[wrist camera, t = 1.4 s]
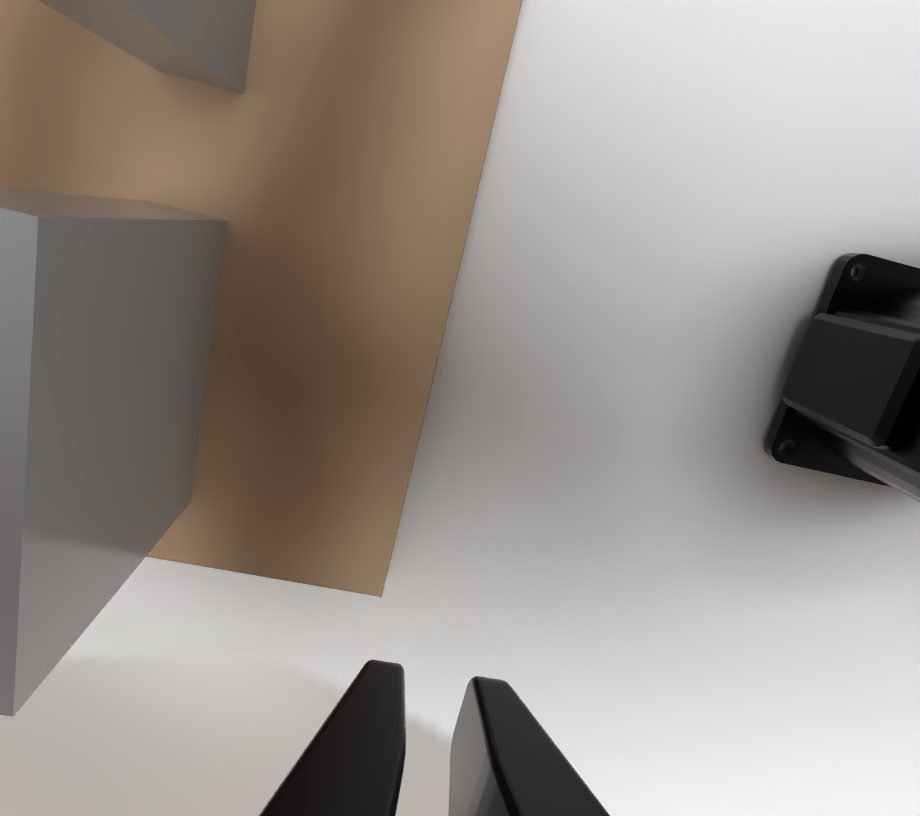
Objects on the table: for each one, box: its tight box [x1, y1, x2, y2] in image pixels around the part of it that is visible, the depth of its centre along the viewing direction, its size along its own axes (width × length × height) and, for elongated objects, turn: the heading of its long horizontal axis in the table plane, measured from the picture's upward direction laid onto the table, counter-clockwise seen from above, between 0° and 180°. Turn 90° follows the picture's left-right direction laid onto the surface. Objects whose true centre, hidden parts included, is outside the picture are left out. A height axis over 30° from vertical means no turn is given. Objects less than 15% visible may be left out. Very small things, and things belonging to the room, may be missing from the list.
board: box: [0, 0, 522, 597], centre depth 15 cm, size 20×22×1 cm
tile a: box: [0, 188, 227, 716], centre depth 13 cm, size 2×8×8 cm, turn 166°
